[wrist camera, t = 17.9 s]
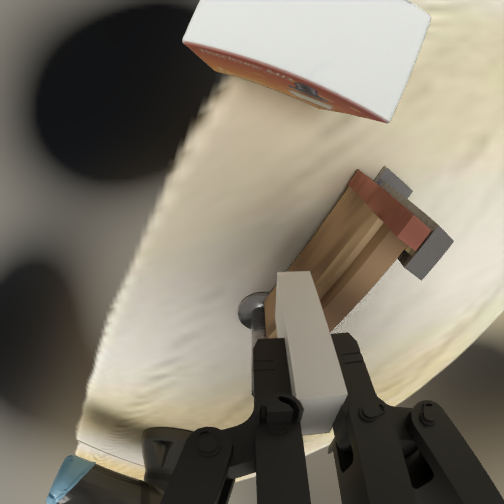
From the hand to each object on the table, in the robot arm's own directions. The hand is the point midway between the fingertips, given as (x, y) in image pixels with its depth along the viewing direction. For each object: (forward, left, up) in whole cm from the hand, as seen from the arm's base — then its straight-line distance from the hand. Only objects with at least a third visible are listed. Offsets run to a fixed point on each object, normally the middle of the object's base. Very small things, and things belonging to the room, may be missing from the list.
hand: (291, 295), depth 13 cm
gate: (0, -4, -9) cm, 10 cm away
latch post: (+5, -6, -10) cm, 12 cm away
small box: (+10, +6, -10) cm, 15 cm away
